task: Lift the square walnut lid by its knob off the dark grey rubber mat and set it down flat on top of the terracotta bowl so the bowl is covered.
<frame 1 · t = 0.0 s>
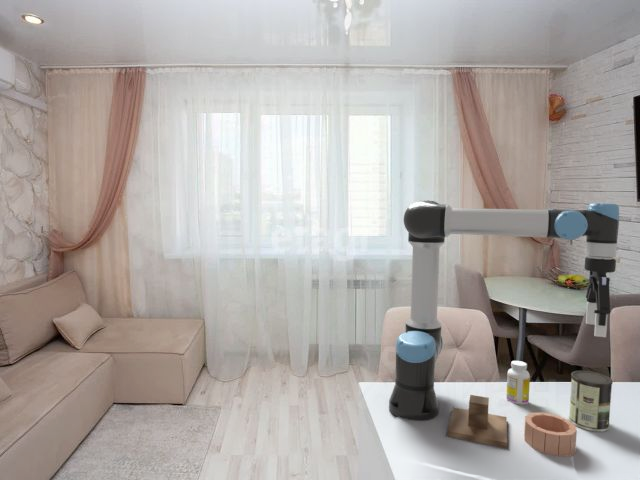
hand: (595, 330, 128), 28 cm above the table, tool pointing down, fingers open, 13 cm apart
coffee can: (588, 423, 131), on the table
supplement bottle: (517, 401, 144), on the table
terracotta bowl: (548, 444, 118), on the table
walnut lid: (477, 428, 125), point 1 cm above the table, touching rubber mat
rubber mat: (477, 430, 125), on the table
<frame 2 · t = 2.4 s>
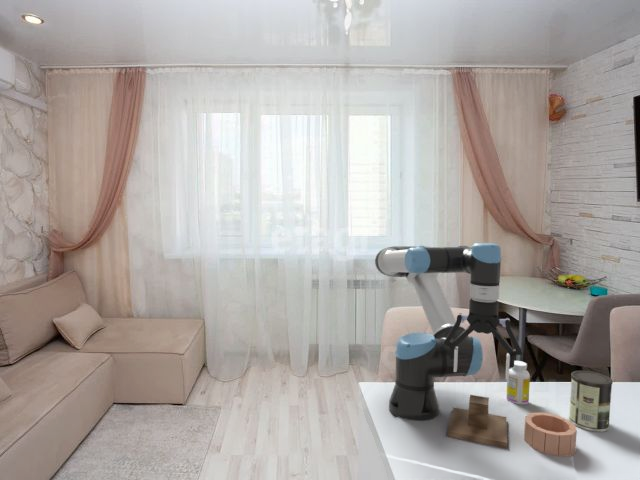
hand: (480, 374, 124), 17 cm above the table, tool pointing down, fingers open, 13 cm apart
nothing on the table moved.
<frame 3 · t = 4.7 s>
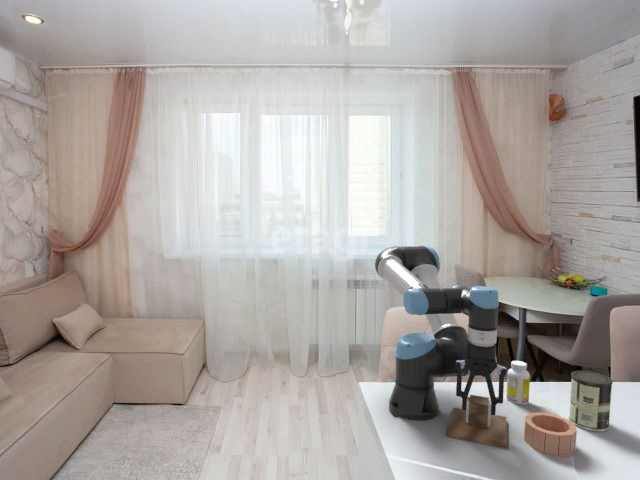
hand: (478, 422, 125), 2 cm above the table, tool pointing down, fingers closed on walnut lid, 5 cm apart
walnut lid: (477, 428, 125), point 1 cm above the table, touching gripper, rubber mat
everything else where it was.
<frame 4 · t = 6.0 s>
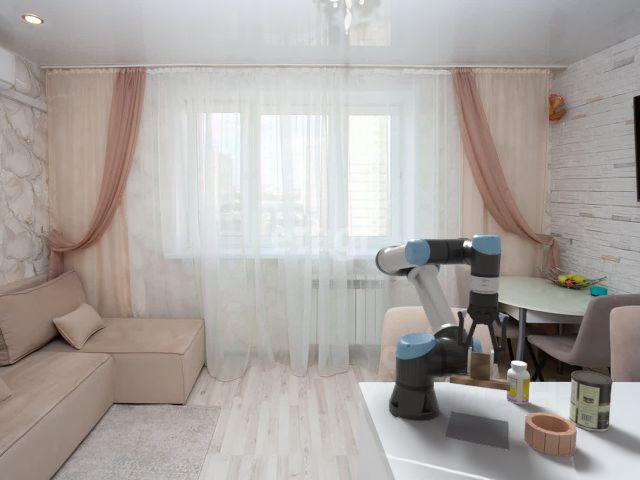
hand: (480, 372, 124), 17 cm above the table, tool pointing down, fingers closed on walnut lid, 5 cm apart
walnut lid: (480, 384, 123), point 14 cm above the table, tilted 16°, touching arm, gripper
everything else where it was.
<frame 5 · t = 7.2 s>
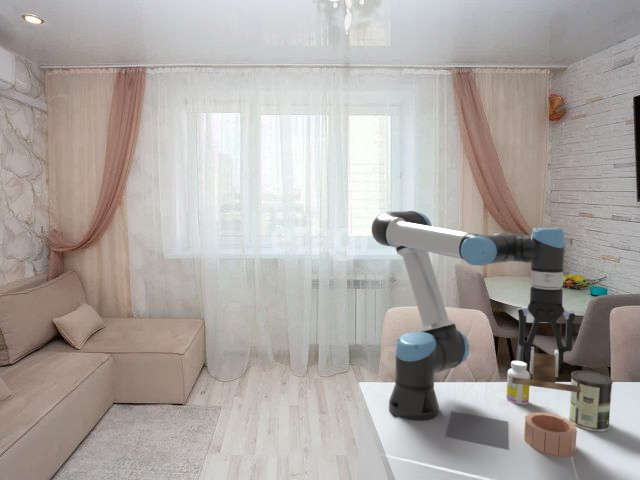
hand: (543, 373, 117), 19 cm above the table, tool pointing down, fingers closed on walnut lid, 5 cm apart
walnut lid: (543, 387, 116), point 16 cm above the table, tilted 21°, touching gripper
everything else where it was.
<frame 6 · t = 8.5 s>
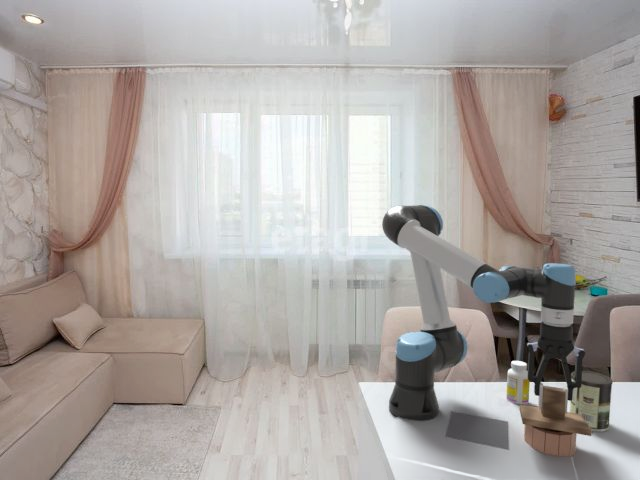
hand: (552, 409, 117), 10 cm above the table, tool pointing down, fingers closed on walnut lid, 5 cm apart
walnut lid: (552, 421, 116), point 7 cm above the table, tilted 11°, touching gripper, terracotta bowl
everything else where it was.
when the fingers open (9 cm above the table, at t = 9.3 s): walnut lid stays where it is, resting on terracotta bowl.
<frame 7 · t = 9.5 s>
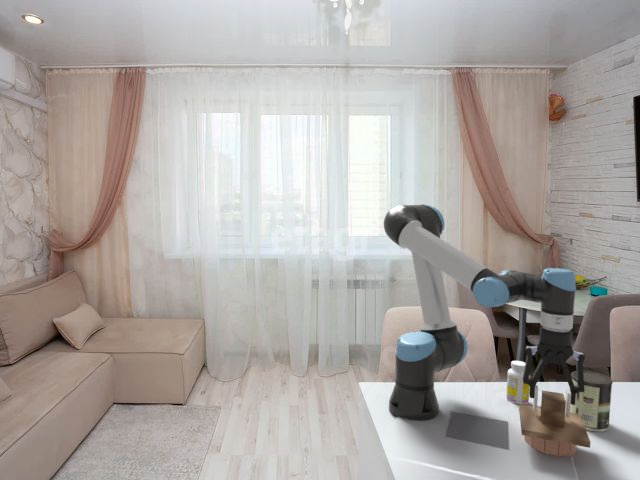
hand: (550, 412, 118), 9 cm above the table, tool pointing down, fingers open, 7 cm apart
walnut lid: (551, 427, 116), point 6 cm above the table, touching terracotta bowl
everything else where it was.
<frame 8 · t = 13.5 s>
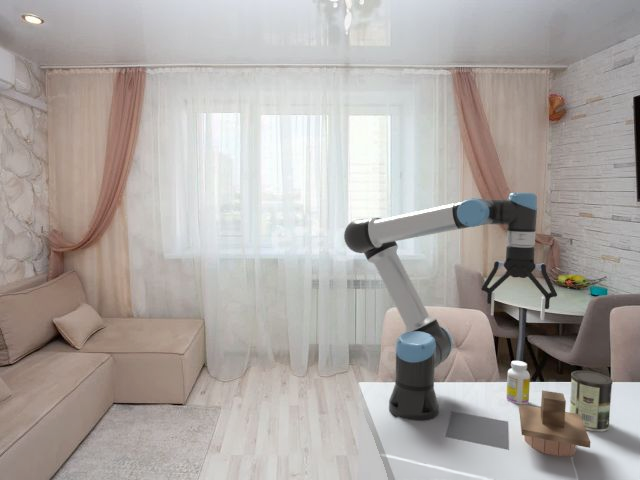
hand: (516, 317, 131), 31 cm above the table, tool pointing down, fingers open, 13 cm apart
nothing on the table moved.
at the end: walnut lid 2.0 cm off-centre on the terracotta bowl, point 6.0 cm above the terracotta bowl's base; walnut lid tilted 0°; the gripper is holding nothing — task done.
